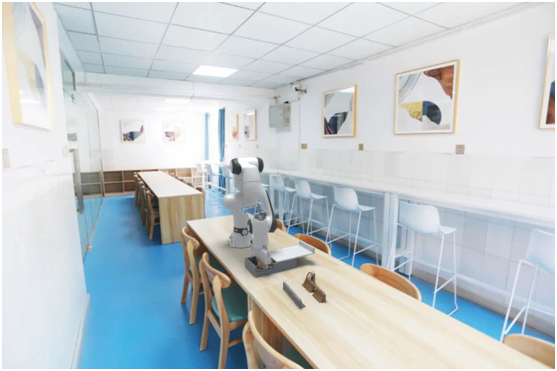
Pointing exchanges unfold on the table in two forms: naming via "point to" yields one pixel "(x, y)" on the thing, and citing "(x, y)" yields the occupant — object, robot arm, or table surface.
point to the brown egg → (260, 265)
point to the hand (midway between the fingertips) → (261, 266)
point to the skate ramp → (310, 287)
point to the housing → (277, 267)
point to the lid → (292, 252)
